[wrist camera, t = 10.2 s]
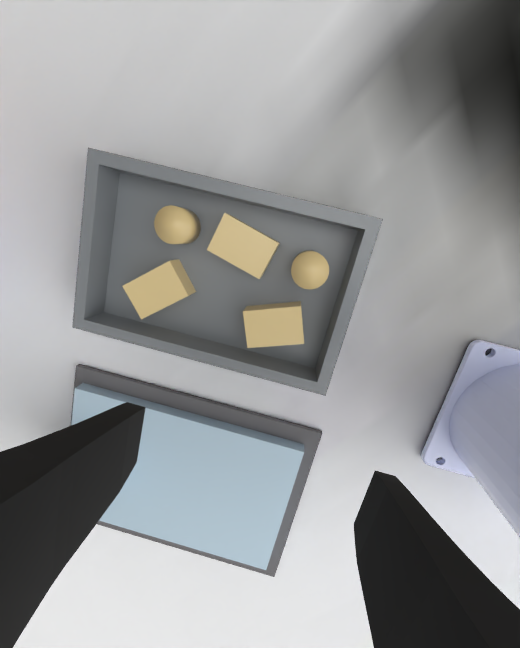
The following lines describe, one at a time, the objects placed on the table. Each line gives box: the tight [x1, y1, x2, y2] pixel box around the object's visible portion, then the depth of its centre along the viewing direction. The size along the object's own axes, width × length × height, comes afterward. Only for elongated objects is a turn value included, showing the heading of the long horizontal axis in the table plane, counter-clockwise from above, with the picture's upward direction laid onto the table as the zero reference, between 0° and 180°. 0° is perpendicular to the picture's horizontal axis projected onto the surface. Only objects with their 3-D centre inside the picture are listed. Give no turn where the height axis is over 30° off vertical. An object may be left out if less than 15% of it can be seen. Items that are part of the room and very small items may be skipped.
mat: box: [71, 364, 322, 577], centre depth 22 cm, size 16×12×1 cm
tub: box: [73, 148, 383, 395], centre depth 17 cm, size 14×9×2 cm, turn 76°
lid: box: [71, 383, 304, 570], centre depth 20 cm, size 15×10×5 cm, turn 76°
